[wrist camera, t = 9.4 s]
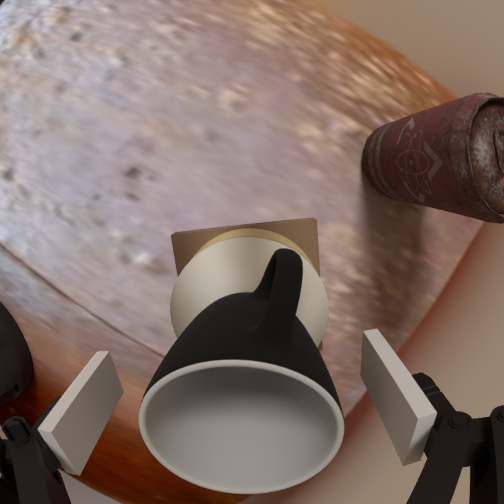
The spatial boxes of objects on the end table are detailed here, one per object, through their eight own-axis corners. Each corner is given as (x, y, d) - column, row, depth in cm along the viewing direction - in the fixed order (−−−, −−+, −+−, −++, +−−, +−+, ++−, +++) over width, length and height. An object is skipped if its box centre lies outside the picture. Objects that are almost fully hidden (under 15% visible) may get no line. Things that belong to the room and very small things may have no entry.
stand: (197, 352, 28) (186, 385, 23) (174, 232, 25) (155, 245, 20) (320, 342, 27) (330, 374, 22) (313, 217, 24) (326, 228, 20)
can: (400, 215, 24) (514, 258, 11) (345, 163, 23) (439, 154, 10) (439, 163, 23) (561, 166, 9) (388, 110, 22) (496, 63, 9)
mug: (287, 396, 23) (298, 503, 13) (174, 366, 22) (131, 467, 12) (349, 252, 20) (419, 318, 10) (213, 210, 20) (166, 244, 10)
